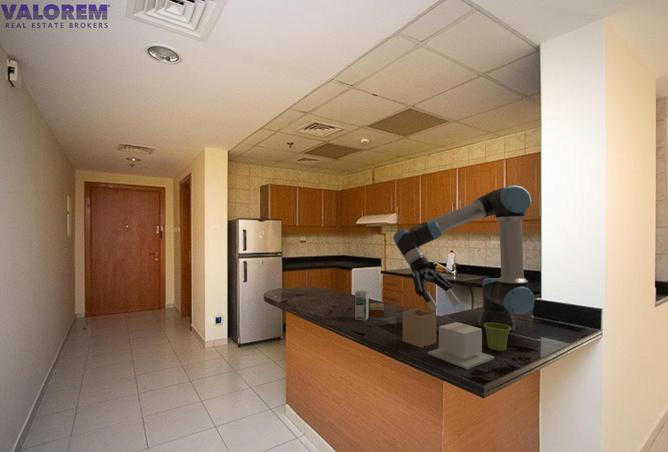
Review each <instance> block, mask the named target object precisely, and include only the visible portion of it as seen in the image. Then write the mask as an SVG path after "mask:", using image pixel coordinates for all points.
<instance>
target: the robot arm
mask: <svg viewBox="0 0 668 452" xmlns="http://www.w3.org/2000/svg"><path fill="white" fill-rule="evenodd" d="M531 204H532V197H531V195H530V193H529V191H528V190H527V189H525V188H524V187H523V186H519V185H509V186H508V185H507V186H506V187H502V188H498V189H494V190H492V191H490V192H488V193H486V194H484V195H482V196H480V197H478V198H475V199H474V200H473V202H471V203H469V204H466V205H464V206H461V207H459V208H456V209H454V210H452V211H448V212H447V213H445V214H442V215H439V216H436V217H435V218H432V219H430V220H427V221H425V222H422V223H420V224H418V225H417V224H416V225H413V226H411V227H410V228H409V230H408V229H406V228H403V229H400V230H397V232H396V233H394V235H393V239H392V240H393V241H394V243H395V245H396V247H397V249H399V252H400V253H401V255H402V256H403V258H404V260H405V261H406V263H407V264H408V265H409V268H410V270H411V271H412V273H410V276H411V278H412V279H413V286H414V291H415V294H416V295H418V296H419V297H422V298H423V300H424V301H425V303H427V306H428V307H429V309H430V310H431V312H434V311H435V310H436V309H437V308H438V307H439V306H438V305H437V303H436V302H435V300H434V298H433V297H432V295H431V293H430V292H429V291H427V282H429V283H430V282H431V283H432V284H435V285H436V286H438V287H439V288H440V289H442V290H443V291H444V294H445V295H446V296H447V298H448V300H449V301H450V303H451V304H452V306H453V307H457V306H458V305H459V304H460V300H459V299H458V297H457V296H456V295H455V293H454V291H453V290H452V288H453V287H454V285H453V284H452V283H451V282H450V281H448V280H447V278H445V277H444V276H443V275H442V274H441V273H440V272H439V271H438V269H436V268H434V269H431V267H430V266H431V263H430V262H429V260H428V259H427V257H426V256H425V254H424V253H423V251H422V250H421V248H420V247H422V246H424V245H426V244H429V243H430V242H433V241H435V240H437V239H439V238H440V237H441V236H442V233H444V232H447V231H449V230H452V229H454V228H456V227H459V226H461V225H464V224H467V223H469V222H472V221H474V220H476V219H479V218H481V219H484V218H486V217H487V218H488V217H491V216H495V219H496V221H498V222H499V247H500V251H499V252H500V253H499V254H500V277H499V278H495V277H494V278H492V277H491V278H484V279H483V280H482V286H481V287H482V310H481V314H480V316H479V319H478V326H479V327H480V328H481V329H485V326H484V324H485V323H499V324H504V325H507V326H509V327H511V330H510V331H509V332H513V331H515V329H516V326H515V321H514V319H513V316H512V314H517V315H522V314H526V313H528V312H529V311H530V310H532V308H533V306H534V304H535V295H534V293H533V292H532V290H531V289H529V280H527V279H526V277H525V275H524V271H525V268H524V250H523V249H524V245H523V244H524V242H523V221H524V220H525V218H526V217H527V212H526V211H527V210H528V209H529V208H530V207H531Z"/></svg>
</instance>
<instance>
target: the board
mask: <svg viewBox="0 0 668 452" xmlns="http://www.w3.org/2000/svg"><path fill="white" fill-rule="evenodd" d="M427 355H429V356H431V355H432V356H431V357H434V358H436V359H439V360H442V361H444V362H447V363H449V364H452V365H455V366H457V367H460V368H462V369H464V370H470V369H472V368H474V367H476V366H479V365H482V364H485V363H487V362H489V361H493V360H494V359H495V356H493V355H491V354H488V353H484V352H479V353H476V356H473V357H470V358H468V359H465V360H462V359H459V358H456V357H454V356H451V355H448V354H445V353H444V350H442V349H439V348H436V349H433V350H430V351H427Z"/></svg>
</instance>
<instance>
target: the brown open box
mask: <svg viewBox="0 0 668 452" xmlns="http://www.w3.org/2000/svg"><path fill="white" fill-rule="evenodd" d="M402 342H405V343H406V344H409V345H411V346H414V345H415V347H417V346H418V348H419V349H422V348H425V347H424V346H426V347H429V346H431V344H432V345H435V344H437V313H436V312H434V311H428V310H425V309H420V308H415V309H410V310H409V309H408V310H406V311H402ZM428 345H429V346H428ZM421 347H422V348H421Z"/></svg>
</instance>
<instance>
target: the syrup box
mask: <svg viewBox="0 0 668 452" xmlns="http://www.w3.org/2000/svg"><path fill="white" fill-rule="evenodd" d="M354 294H355V295H354V297H355V298H354V300H355V301H354V302H355V303H354V306H355V309H354V311H355V312H354V314H355V315H354V319H355V321H364V322H366V321H367V320H368V319H369V290H361V289H356V291H355V293H354Z"/></svg>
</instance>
